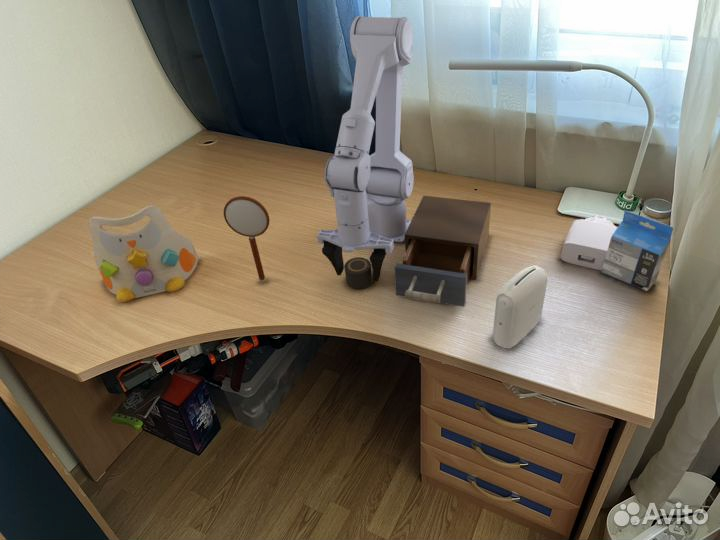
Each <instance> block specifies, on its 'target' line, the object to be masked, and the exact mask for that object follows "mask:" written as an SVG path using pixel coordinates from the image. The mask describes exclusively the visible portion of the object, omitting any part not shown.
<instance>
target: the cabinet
mask: <svg viewBox="0 0 720 540" xmlns="http://www.w3.org/2000/svg"><path fill="white" fill-rule="evenodd" d="M491 209H492V202H488V201H486V202H485V201H479V200H477V201H476V200H468V199H460V198H450V197H442V196H440V197H439V196H431V195H423V196H422V197H421V199H420V202H419V204H418V206H417V208H416V210H415V212H414V214H413V216H412V218H411V220H410V221H411V222H410V225H409V227H408V229H407V231H406V233H405V240H404V254H405V253H406V251H407V249H408V246H409V244H410V242H411V240H412V239H417V240H424V241H432V242H439V243H446V244H454V245H461V246H469V247H474V258H473V265H472V269H471V272H470V275H469V279H468V280H473V281H477V279H478V275H479V272H480V268H481V265H482V261H483V258H484V254H485V250H486V246H487V243H488V240H489V235H490V234H489V233H490V223H491V222H490V221H491Z"/></svg>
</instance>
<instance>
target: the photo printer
mask: <svg viewBox="0 0 720 540" xmlns="http://www.w3.org/2000/svg"><path fill="white" fill-rule="evenodd" d="M548 279H549V277H548V274H547V271H546V270H545V269H544V267H540V266H538V265H537V264H533V265H530V266H527V267H525V268H523V269H521V270H520V271H518V272H517V273H516V274H515V275H513V276H512V277H511V278H510V279H509V280H508V281H507V282H506V283H505V284H504V285H503V286H502V288H501V289H500V290H499V291H498V294H497V295H496V298H495V307H494V308H495V309H494V319H493V328H492V339H493V340H494V342H495V344H496V345H498V346H499V347H501V348H504V349H511V348H513V347H515V346H516V345H517V344H519V342H520V341H522V340H523V339H524V338H525V337H526V336H527V335H528V334H529V333H530V332H531V331H532V330H533V329H534V328H535V327H536V326H537V325H538V324H539V322H540V320H541V318H542V314H543V309H544V303H545V299H546V291H547V285H548Z"/></svg>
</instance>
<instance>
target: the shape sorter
mask: <svg viewBox="0 0 720 540" xmlns="http://www.w3.org/2000/svg"><path fill="white" fill-rule="evenodd" d="M145 217H149V220H148V222H147V223H146V224H145V225H143V226H142V227H141V228H139V229H137V230H134V231H132V232H127V233H117V232H112V231H108V230H106V229H105V228H103V227H102V226H106V227H124V226H125V227H126V226H129V225H132V224H135V223H137V222H139V221H141V220H143V219H144V218H145ZM88 227H89V231H90V237H91V241H92V246H93V259H94V261H95V264H96V266H97V269H98V272H99V274H100V275H101V277H102V280H103V283H104V285H105V287H106V288H107V290H108V291H109V292H110V293H112V294H113V295H115V299H116V301H117V302H119V303H124V302H125V303H126V302H128V301H131V300H134V299H138V298H142V297H147V296H151V295H156V294H160V293H164V292H175V291H178V290H180V289H182V288H183V287H184V286H185V284H186V283H185V281H187V280H188V278H190V276H192V274H193V273H194V271H195V269H196V268H197V265H198V262H199V256H198V253H197V251H196V248H195V246H194V244H193V242H192V241H191V239H190V238H189V237H188V236H185V235H182V234H180V233H179V232H178V231H176V230H175V228H174V227H173V226H172V225H171V223H170V222H169V220H168V219H167V216H166V215H165V214H164V213H163V212H162V211H161V209H159V208H158V207H157V206H155V205H151V204H150V205H149V204H148V205H145V207H143V208H142V209H141V210H139V211H138V212H136V213H134V214H132V215H127V216H124V217H118V218H117V217H116V218H110V217H109V218H108V217H102V216H92V217H90V219H89V226H88Z"/></svg>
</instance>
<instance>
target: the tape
mask: <svg viewBox="0 0 720 540" xmlns="http://www.w3.org/2000/svg"><path fill="white" fill-rule="evenodd" d="M344 275H345V283H346V285H347V287H349V289H352V290H357V291H358V290H364V289H367V288H369V287H370V286H371V285H372V283H373V269H372V264H371V262H370V259H368V258H365V257H361V256H360V257H359V256H356V257H352V258H349V259H348V260H347V261H346V262H344Z"/></svg>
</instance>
